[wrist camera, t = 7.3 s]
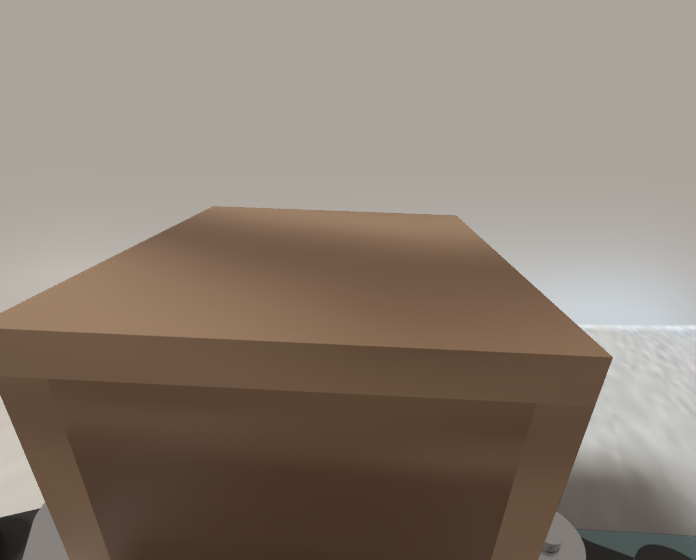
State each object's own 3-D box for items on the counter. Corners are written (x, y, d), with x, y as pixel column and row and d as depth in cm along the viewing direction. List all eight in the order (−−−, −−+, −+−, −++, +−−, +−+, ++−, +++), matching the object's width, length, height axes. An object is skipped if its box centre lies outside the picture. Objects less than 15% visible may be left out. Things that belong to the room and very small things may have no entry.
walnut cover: (247, 512, 14) (213, 206, 10) (411, 522, 14) (456, 215, 9) (164, 786, 8) (-29, 328, 4) (447, 808, 8) (613, 357, 4)
